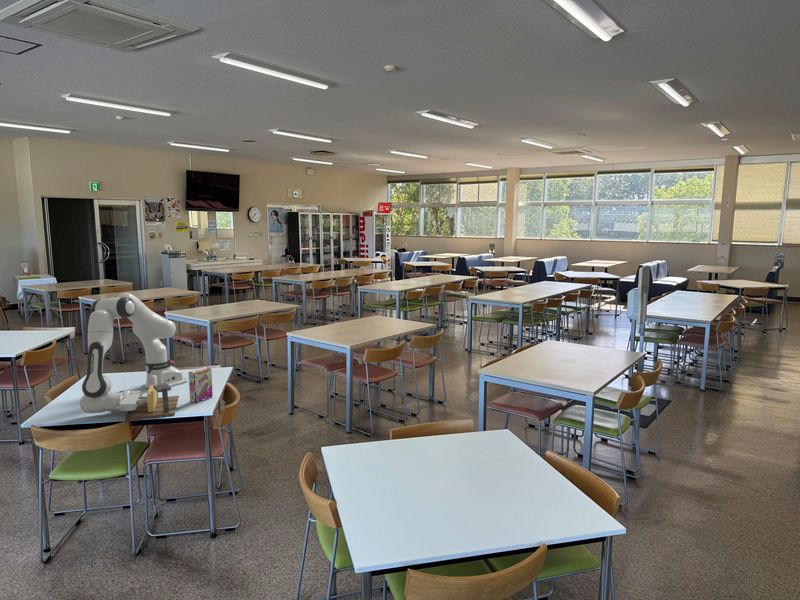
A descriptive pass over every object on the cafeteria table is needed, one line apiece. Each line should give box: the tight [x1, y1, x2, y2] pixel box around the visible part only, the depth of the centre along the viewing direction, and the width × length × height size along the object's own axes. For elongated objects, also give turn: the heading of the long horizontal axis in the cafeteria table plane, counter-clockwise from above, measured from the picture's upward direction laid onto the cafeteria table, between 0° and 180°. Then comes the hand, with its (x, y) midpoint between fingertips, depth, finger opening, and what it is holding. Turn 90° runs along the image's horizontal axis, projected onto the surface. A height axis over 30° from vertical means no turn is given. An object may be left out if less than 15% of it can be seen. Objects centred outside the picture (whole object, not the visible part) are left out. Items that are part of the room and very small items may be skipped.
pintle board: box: [123, 383, 180, 422], centre depth 270 cm, size 28×22×14 cm
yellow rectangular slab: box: [146, 375, 159, 412], centre depth 270 cm, size 20×3×13 cm, turn 18°
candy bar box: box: [188, 366, 213, 403], centre depth 282 cm, size 11×5×16 cm, turn 149°
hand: (149, 399), depth 267 cm, fingers closed
